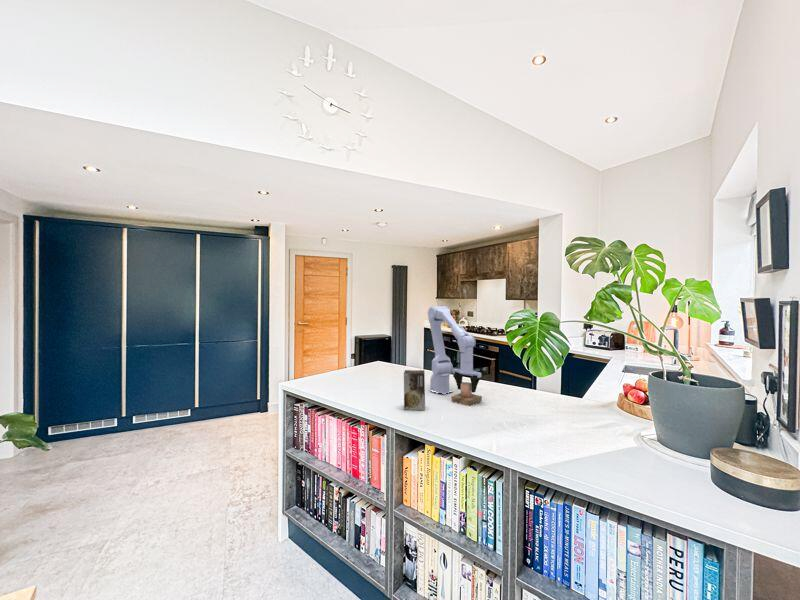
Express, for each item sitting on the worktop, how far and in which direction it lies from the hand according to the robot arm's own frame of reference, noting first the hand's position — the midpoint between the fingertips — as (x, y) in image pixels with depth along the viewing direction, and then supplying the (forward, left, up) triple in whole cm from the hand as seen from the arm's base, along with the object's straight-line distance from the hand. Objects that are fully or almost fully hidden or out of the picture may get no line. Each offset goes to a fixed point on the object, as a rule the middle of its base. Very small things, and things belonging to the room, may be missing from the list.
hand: (466, 390), depth 164 cm
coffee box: (-11, -24, -5) cm, 27 cm away
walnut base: (0, 0, -5) cm, 5 cm away
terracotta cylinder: (0, 0, -3) cm, 3 cm away
